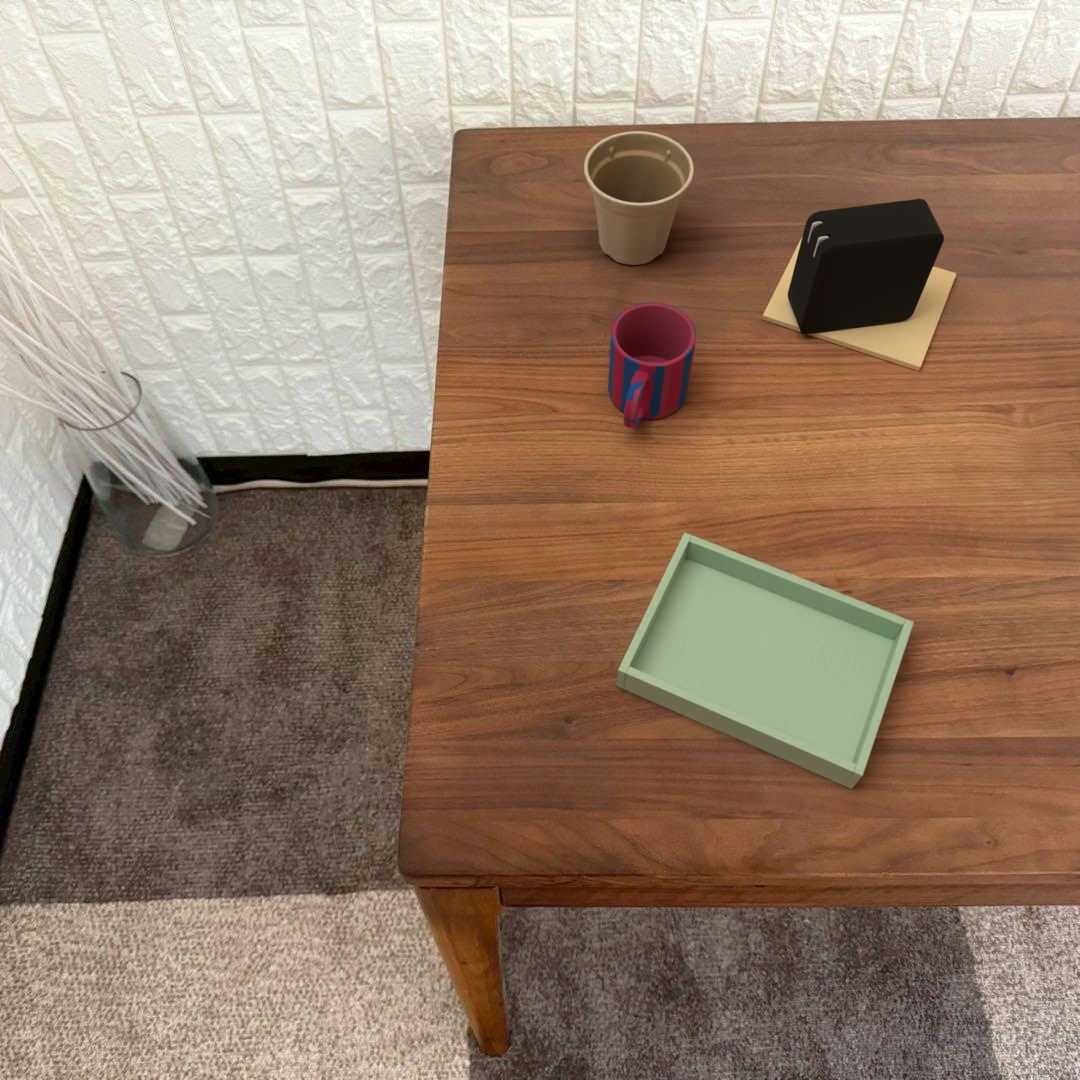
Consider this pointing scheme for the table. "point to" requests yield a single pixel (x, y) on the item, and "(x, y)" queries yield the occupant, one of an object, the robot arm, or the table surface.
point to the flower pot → (636, 192)
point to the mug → (650, 361)
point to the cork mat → (881, 341)
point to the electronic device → (863, 265)
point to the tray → (767, 658)
